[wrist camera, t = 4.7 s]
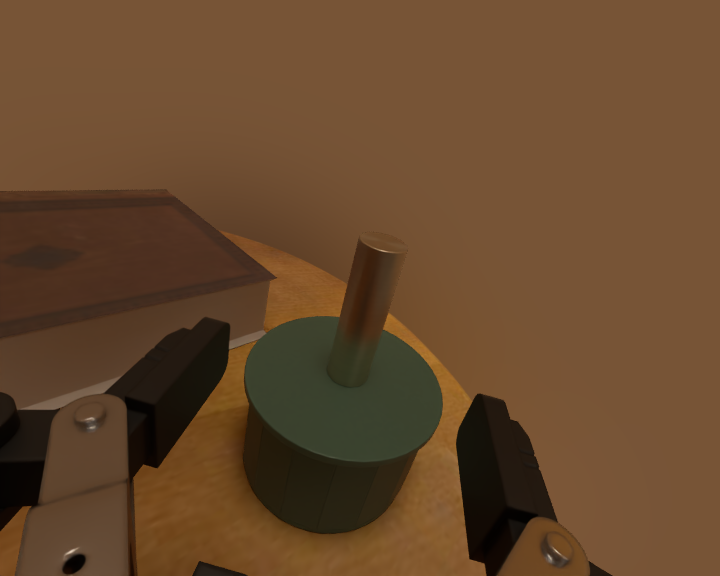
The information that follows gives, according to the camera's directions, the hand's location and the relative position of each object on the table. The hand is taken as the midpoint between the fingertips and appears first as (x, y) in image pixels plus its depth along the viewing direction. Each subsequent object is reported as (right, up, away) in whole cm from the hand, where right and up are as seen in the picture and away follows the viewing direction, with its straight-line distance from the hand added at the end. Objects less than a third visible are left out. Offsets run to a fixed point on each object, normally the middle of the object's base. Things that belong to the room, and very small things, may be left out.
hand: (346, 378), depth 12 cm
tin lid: (0, -3, +12) cm, 12 cm away
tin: (-2, -9, +15) cm, 17 cm away
